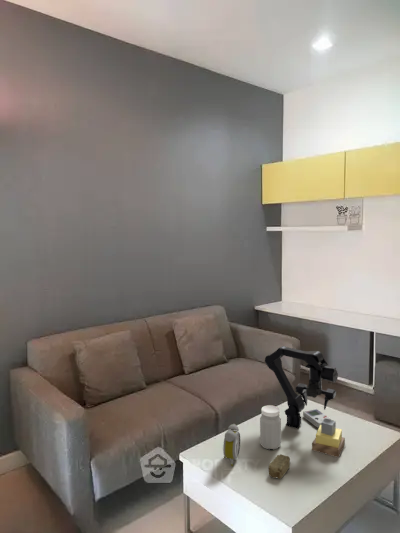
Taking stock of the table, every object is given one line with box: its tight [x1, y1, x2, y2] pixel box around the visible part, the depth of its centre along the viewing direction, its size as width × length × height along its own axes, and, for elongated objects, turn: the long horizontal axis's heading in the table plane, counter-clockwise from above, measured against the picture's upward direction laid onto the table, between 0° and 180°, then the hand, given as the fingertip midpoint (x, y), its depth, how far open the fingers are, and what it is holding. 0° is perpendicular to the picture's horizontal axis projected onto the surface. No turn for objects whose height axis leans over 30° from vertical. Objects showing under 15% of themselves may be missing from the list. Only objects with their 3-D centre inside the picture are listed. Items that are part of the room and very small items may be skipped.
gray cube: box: [321, 418, 337, 436], centre depth 189 cm, size 5×5×5 cm
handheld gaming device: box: [302, 408, 332, 430], centre depth 214 cm, size 9×15×4 cm, turn 19°
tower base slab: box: [311, 436, 346, 458], centre depth 189 cm, size 12×12×4 cm
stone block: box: [268, 453, 291, 480], centre depth 172 cm, size 6×12×5 cm, turn 147°
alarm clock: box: [222, 423, 241, 467], centre depth 181 cm, size 12×7×15 cm, turn 161°
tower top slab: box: [315, 425, 343, 448], centre depth 189 cm, size 10×10×4 cm
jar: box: [259, 404, 282, 450], centre depth 192 cm, size 10×10×18 cm
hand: (315, 407), depth 202 cm, fingers open, 9 cm apart
